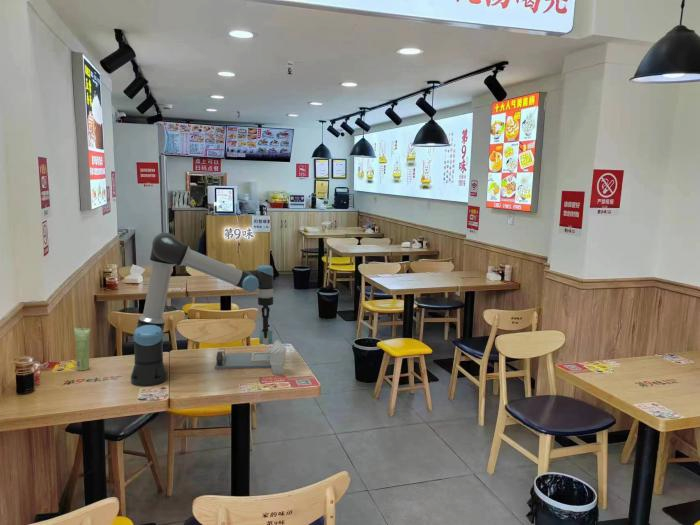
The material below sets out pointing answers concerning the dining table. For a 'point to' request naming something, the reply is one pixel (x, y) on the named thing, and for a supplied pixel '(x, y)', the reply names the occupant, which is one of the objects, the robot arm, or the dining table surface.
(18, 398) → the dining table surface
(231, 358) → the jig board
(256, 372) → the dining table surface
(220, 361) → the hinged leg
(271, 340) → the teal egg shape
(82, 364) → the tube
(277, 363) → the soft serve ice cream cone
